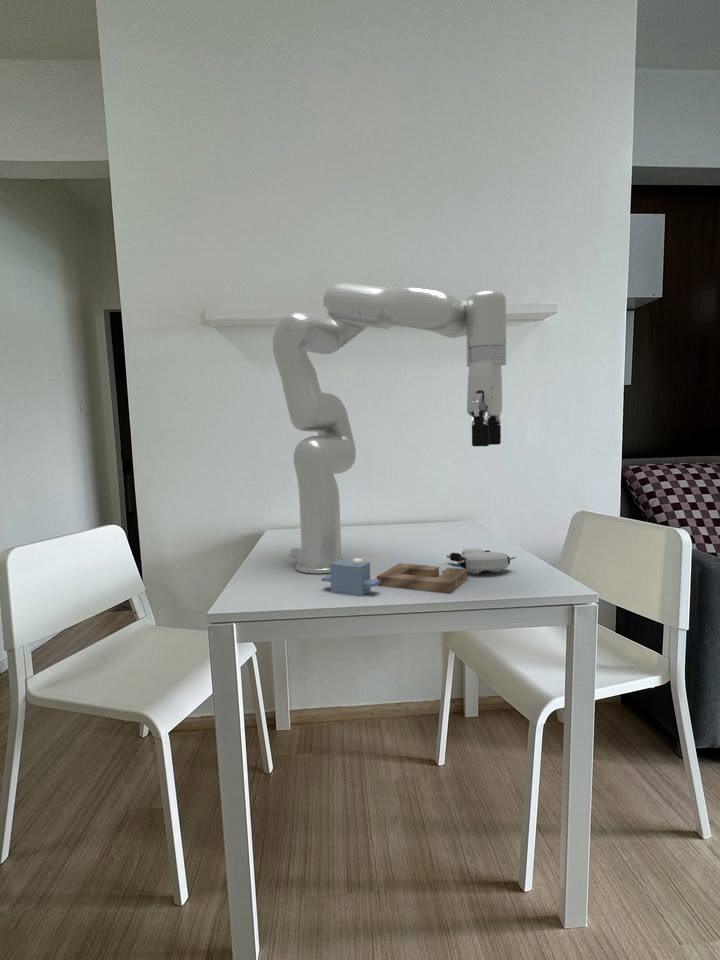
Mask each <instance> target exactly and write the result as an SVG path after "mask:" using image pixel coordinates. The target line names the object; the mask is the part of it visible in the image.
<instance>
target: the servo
mask: <svg viewBox="0 0 720 960" xmlns="http://www.w3.org/2000/svg"><path fill="white" fill-rule="evenodd" d="M320 580H321V582H329V583H330V593H331V594H339V595H345V596H346V595H348V596H355V597H356V596H357V597H363V596H365V595H367V594H368V593H370V592H371V591H372V589H371V587H373V588H375V587H377V586H378V584H380V580H377V579H373V578H371V562H369V561H363V558H362V557H355V558H352V560H348V559H345V560H338V561H336V562H333V563H331V564H330V573H329V574H327V575H324V576H322V577H321V579H320Z"/></svg>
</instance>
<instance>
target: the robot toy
mask: <svg viewBox="0 0 720 960" xmlns="http://www.w3.org/2000/svg"><path fill="white" fill-rule="evenodd" d="M445 558H446V559H449V560H450V561H453V562H457V565H458V566H459V567H460V568H461V569H468V574H469V573H470V574H472V575H478V574H480V573H481V572H483V571H488V572H489V573H492V572H497V573H499V572H501V571H502V570H503V569H507V568H508V567H509V565H510V564H511V561H512V560H514V559H517V556H513V557H510V556H509V555H507V553H505V552H504V553H503V552H500V551H490V550H483V549H482V548H478V547H475V548H474V547H472V548H464V549H463V550H462V551H461V553H458V552H451V553H450V554H446V555H445Z"/></svg>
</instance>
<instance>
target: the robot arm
mask: <svg viewBox="0 0 720 960" xmlns="http://www.w3.org/2000/svg"><path fill="white" fill-rule="evenodd" d="M322 298H323V299H322V300H323V301H322V304H323V308H324V310H325V312H326V314H327V315H328V317H327V318H325V317H322V316H319V315H316V314H312V313H309V312H304V311H301V312H300V311H295V312H291V313H288V314H286V315H284V316H283V317H282V318H281V319H280V320H279V322H278V323H277V325H276V326H275V330H274V332H273V337H272V353H273V356H274V357H273V358H274V361H275V364H276V367H277V371H278V373H279V377H280V380H281V385H282V390H283V394H284V398H285V402H286V406H287V411H288V414H289V418H290V421H291V423H292V426H293V427H294V428H295V429H296V430H298V431H302V432H310V433H312V432H316V433H317V434H318V435H312V436H311V435H310V436H308V437H305V438H303V439H301V440H300V442H298V444H296V446H295V449H294V451H293V466H294V470H295V474H296V479H297V484H298V485H297V486H298V498H299V502H298V503H299V519H300V521H299V522H300V542H301V543H300V544H301V545H300V546H301V547H300V548H295V547H293V548H291V549H290V552H289V558H294V559H295V558H296V559H297V560H298V561H297V562H296V563H295V570H296V571H298V572H301V573H305V574H330V564H331V563H333V562H336V561H338V560H346V559H344V558H342V537H341V536H342V534H341V506H340V503H341V502H340V492H339V491H340V490H339V487H338V483H337V481H336V477H335V475H336V474H342V473H346V472H347V471H349V470H351V469H352V467H353V466H354V464H355V462H356V457H357V453H356V452H357V451H356V444H355V440H354V437H353V432H352V428H351V423H350V420H349V415H348V411H347V409H346V407H345V405H344V403H343V401H342V400H341V399H340V397H338V396H337V395H335V394H332V393H329V392H323V391H322V390H321V387H320V383H319V380H318V374H317V371H316V368H315V366H314V365H313V363H312V361H311V360H310V358H309V356H308V353H307V352H309V353H313V354H320V355H331V354H334V353H337V351H339V350H341V349H342V348H343V347H344V346H346V345H347V344H348V343H350V342H351V341H352V340H354V339H355V338H356V337H357V336H358V335H360V334H361V333H363V332H364V330H365V329H367V328H368V327H371V328H376V329H384V330H388V329H390V328H391V327H392V328H393V326H395V327H398V326H399V327H405V328H411V329H419V330H423V331H429V332H433V333H436V334H439V335H441V336H444V337H446V338H450V339H453V338H455V339H456V338H462V337H464V336H466V367H467V368H468V375H467V376H468V377H467V393H466V395H467V398H466V403H467V404H466V412H467V414H468V415H469V416H471V417H472V418H471V446H472V447H489V446H490V445H493V446H494V445H497V446H498V445H501V443H502V439H501V437H502V435H501V430H502V427H501V414H502V411H503V379H502V377H503V375H502V366H505V365H507V299H506V296H505V294H504V292H503V293H502V292H501V291H498V290H480V291H477V292H474V293H471V294H470V295H469V296H468V297H467V299H466V300H465V299H460V298H457V297H455V296H453V295H452V294H449V293H446V292H445V291H441V290H437V289H436V290H435V289H428V288H418V287H409V286H408V287H407V286H400V287H399V286H398V287H389V286H387V287H386V286H377V285H368V284H361V283H352V282H337V283H334V284H332V285H330V286H329V287H328V288H327V289H326V290H325V293H324V294H323V297H322Z"/></svg>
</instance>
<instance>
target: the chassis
mask: <svg viewBox="0 0 720 960" xmlns="http://www.w3.org/2000/svg"><path fill="white" fill-rule="evenodd" d="M468 574H469V572H468V569H464V568H459V567H458V568H456V567H446V568H445V569H444V570H442V573H441V574H440V567H439V566H436V565H435V566H433V565H423V564H411V563H398V564H396V565H394V566H392V567H391V568H389V569H386V570H385V571H384V572H381V573H380V574H378V575H376V580H380V584H378V585H377V586H378V587H387V588H395V589H405V590H416V591H423V592H424V591H425V592H426V591H427V592H433V593H442V594H451V593H453V592H454V591H455V590H456V589H458V588H459V587H460V586H461V585H462V584H463V583H464V582H466V581H467V580H468V579H469V577H468Z"/></svg>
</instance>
